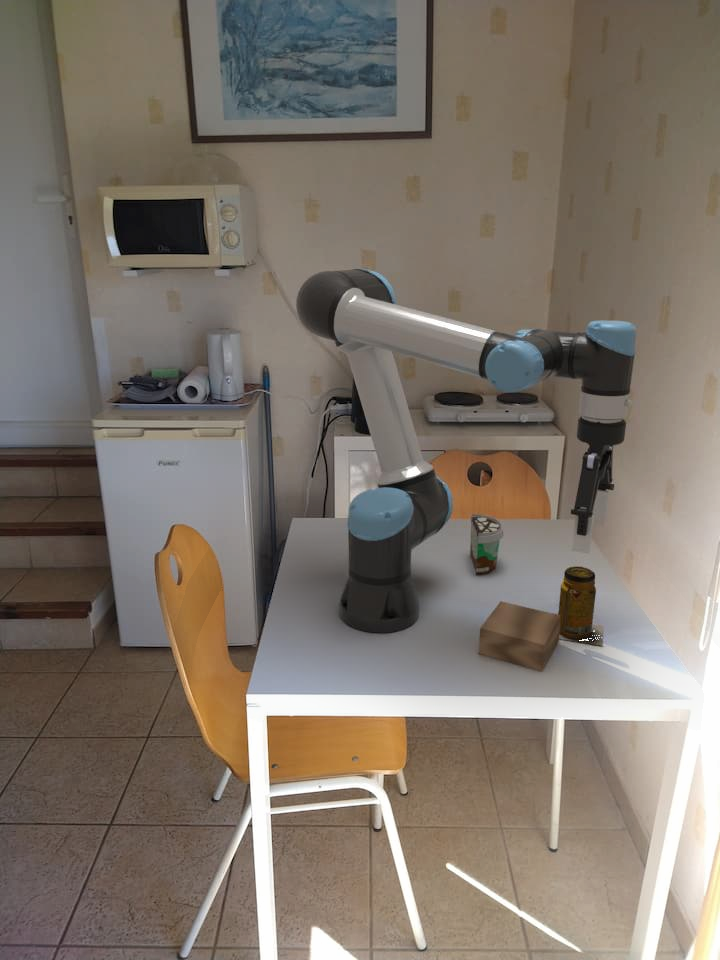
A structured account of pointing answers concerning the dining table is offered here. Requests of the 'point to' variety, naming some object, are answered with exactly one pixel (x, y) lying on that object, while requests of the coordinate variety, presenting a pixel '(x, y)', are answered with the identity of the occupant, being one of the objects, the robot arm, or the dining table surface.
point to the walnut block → (520, 635)
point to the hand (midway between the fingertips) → (589, 537)
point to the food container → (484, 543)
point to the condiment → (578, 606)
